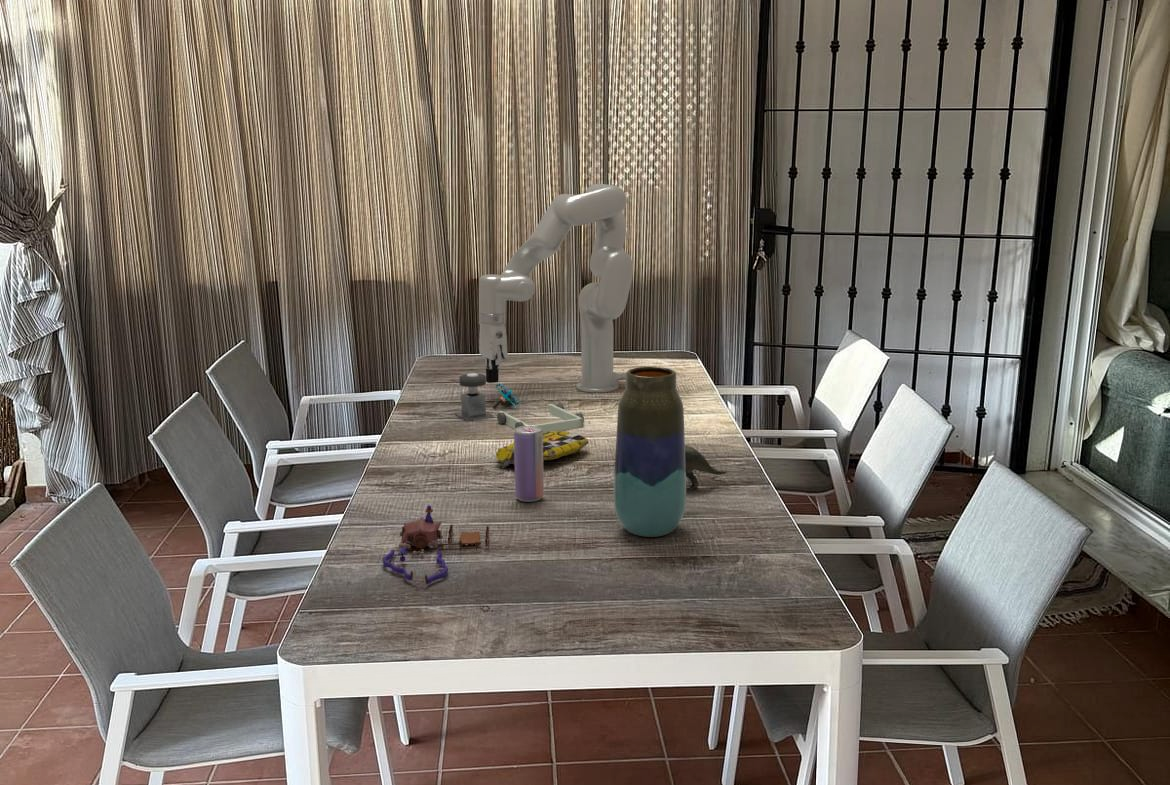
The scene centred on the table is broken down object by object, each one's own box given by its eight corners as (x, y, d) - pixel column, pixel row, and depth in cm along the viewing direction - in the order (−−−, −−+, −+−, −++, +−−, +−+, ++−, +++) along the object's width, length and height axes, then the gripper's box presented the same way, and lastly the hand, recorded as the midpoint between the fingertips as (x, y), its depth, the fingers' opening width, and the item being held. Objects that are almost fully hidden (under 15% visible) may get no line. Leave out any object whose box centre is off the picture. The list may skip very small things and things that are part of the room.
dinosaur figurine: (727, 487, 224) (729, 437, 221) (719, 500, 216) (721, 448, 213) (630, 477, 231) (630, 429, 228) (619, 489, 223) (619, 439, 220)
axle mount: (481, 410, 288) (480, 389, 287) (493, 417, 281) (492, 395, 280) (454, 414, 284) (453, 393, 283) (465, 421, 277) (465, 399, 276)
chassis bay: (555, 411, 286) (555, 401, 286) (587, 427, 271) (587, 416, 270) (494, 420, 278) (493, 410, 277) (523, 437, 262) (523, 425, 262)
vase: (664, 548, 191) (666, 383, 183) (600, 534, 198) (599, 374, 191) (697, 525, 202) (701, 368, 195) (635, 512, 209) (636, 360, 202)
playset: (488, 583, 177) (487, 546, 176) (376, 588, 176) (374, 550, 174) (489, 530, 201) (488, 496, 200) (390, 533, 200) (388, 499, 198)
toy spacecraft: (480, 463, 243) (480, 442, 242) (548, 442, 259) (548, 422, 258) (531, 477, 232) (530, 456, 231) (598, 455, 248) (598, 434, 247)
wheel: (479, 388, 286) (479, 370, 285) (490, 393, 280) (489, 375, 279) (456, 391, 282) (455, 373, 281) (466, 397, 276) (465, 378, 275)
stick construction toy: (520, 399, 285) (500, 379, 286) (502, 416, 285) (482, 396, 285) (522, 403, 297) (503, 383, 298) (505, 420, 297) (486, 401, 297)
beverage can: (522, 504, 214) (520, 434, 211) (510, 495, 219) (509, 427, 216) (548, 499, 217) (547, 430, 213) (536, 491, 222) (535, 423, 219)
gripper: (515, 321, 289) (515, 386, 293) (493, 314, 301) (493, 375, 305) (490, 323, 285) (490, 388, 289) (469, 315, 298) (469, 378, 302)
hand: (492, 381), depth 297 cm, fingers closed
